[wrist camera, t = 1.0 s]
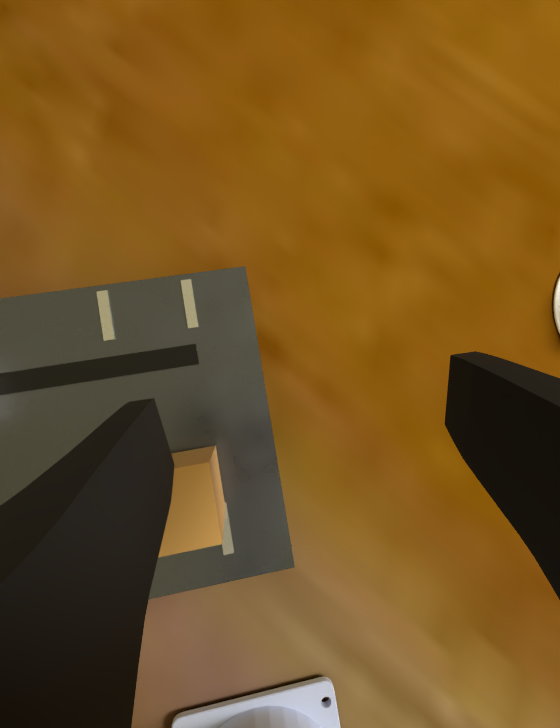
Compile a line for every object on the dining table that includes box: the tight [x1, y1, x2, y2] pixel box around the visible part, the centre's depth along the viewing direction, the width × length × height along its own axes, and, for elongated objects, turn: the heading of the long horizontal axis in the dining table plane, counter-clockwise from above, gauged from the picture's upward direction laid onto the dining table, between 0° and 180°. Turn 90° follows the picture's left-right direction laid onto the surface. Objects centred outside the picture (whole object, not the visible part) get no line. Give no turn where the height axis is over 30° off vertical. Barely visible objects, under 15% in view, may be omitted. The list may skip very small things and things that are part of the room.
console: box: [0, 266, 294, 599], centre depth 19 cm, size 15×22×1 cm
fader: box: [158, 445, 226, 557], centre depth 17 cm, size 3×2×4 cm
